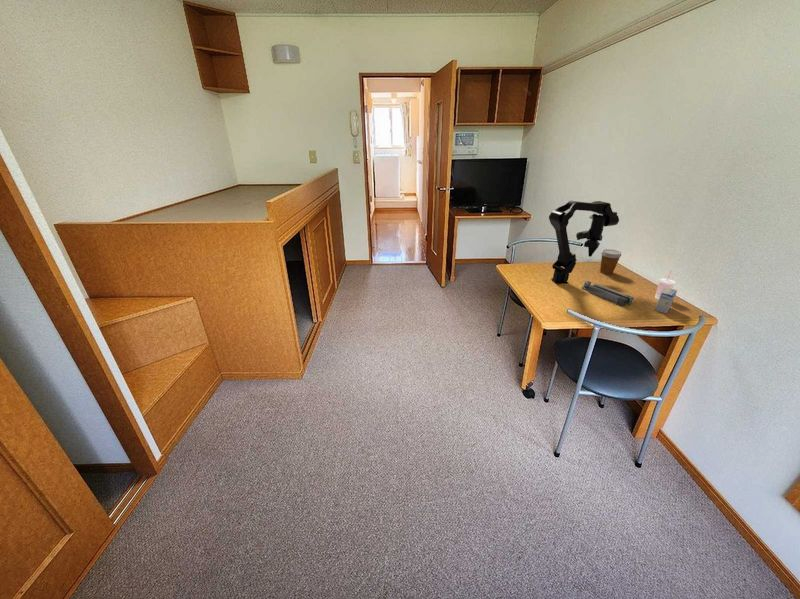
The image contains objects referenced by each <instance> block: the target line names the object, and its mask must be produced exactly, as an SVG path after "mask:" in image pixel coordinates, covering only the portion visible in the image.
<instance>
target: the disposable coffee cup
mask: <svg viewBox="0 0 800 599" xmlns="http://www.w3.org/2000/svg"><path fill="white" fill-rule="evenodd" d="M600 254H601V258H600V260H601V261H600V268H599V272H600V273H601V274H604V275H612V274H614V271H615V269H616V267H617V264H618V262H619V260H620V258H621V257H622V252H621V251H619V250H616V249H607V248H606V249H603V250H602V251H601V253H600Z"/></svg>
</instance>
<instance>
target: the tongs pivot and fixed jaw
mask: <svg viewBox="0 0 800 599" xmlns="http://www.w3.org/2000/svg"><path fill="white" fill-rule="evenodd" d="M581 289H582V290H584V291H587V293H590V294H593V295H595V296H597V297H600V298H601V299H604V300H606V301H609V302H611V303H614V304H616V305H618V306H620V307H625V306H627V305H628V304H627V302H628V299H627V298H625V297H620V296H618V295H615V294H613V293H610V292H608V291H605V290H603V289H600V288H598V287H595V286H593V284H592V282H591V281H589V280H586V281H584V284H583V285H582V286H581Z"/></svg>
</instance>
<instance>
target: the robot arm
mask: <svg viewBox="0 0 800 599" xmlns="http://www.w3.org/2000/svg"><path fill="white" fill-rule="evenodd" d="M576 211H582V212H583V211H585V212H586V211H587V212H592V213H593V214H592V215H590V216H589V219H591V223H590V227H589V229H588V230H583V231H578V232H577V233H575V234H576V235H575V236H576V237H575V238H576V240H577V241H580V240H583V239H586V241H584V242H583V243H584V244H583V247H584V248H588V251H587V252H588V257H589V258H590V257H591V258H592V256H593V255H594V253H595V252H596V251H597V250H598V248H599V246H600V244H601V243H600V241H601V242H602V240H603V231H604V227H612V226H616V225H618V223H619V222H620V217H619V215H618V212H617V211H613V208H612V205H611V203H610V202H606V201H601V200H598V201H597V200H595V201H592V202H586V201H585V202H584V201H574V200H568V201H566V202H565V203H564V204H562V205H560V206H558V207H557V208H556V209H554V210H553V211H551V212H550V214H549V216H548V220H549V222H550V225H551V226H552V227H553V229H554V230H555V231H554V232H555V237H556V242H557V246H558V255H557V260H556V261H555V262H554V263H553V264H552V269H554V271H553V276H552V277H551V280H552V282H554V283H555V284H557V285H558V284H559V285H561V284H563V285H564V284H569V282H568V281H569V278H570V274H571V273H572V272H573V270H574V268H575V266H576V264H577V261H578V260H577V255H576V253H574V252H571V248H570V247H571V246H570V243H569V237H568V231H567V227H568V224H569V220H570V219H571V218H572V217H574V214H575V212H576Z"/></svg>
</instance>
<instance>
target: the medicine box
mask: <svg viewBox="0 0 800 599" xmlns="http://www.w3.org/2000/svg"><path fill="white" fill-rule="evenodd" d="M677 292H678V290H677V289H673V288H672V289H670V288H665V289H664V290H663V292H662V293H661V295H660V298H659V300H658V299H657V300H658V301H657V303H656V306H655V309H654V311H656V312H657V311H658V312H661V313H664V314H668V312H669V309H670V308H671V307H672V304H673V302H674V299H675V297H676V295H677Z"/></svg>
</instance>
